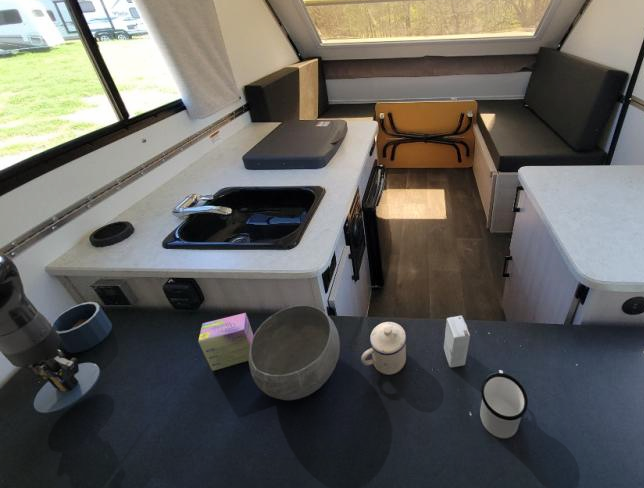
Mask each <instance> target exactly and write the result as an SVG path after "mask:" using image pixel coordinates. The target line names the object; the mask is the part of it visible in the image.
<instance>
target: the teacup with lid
mask: <svg viewBox="0 0 644 488" xmlns="http://www.w3.org/2000/svg"><path fill="white" fill-rule="evenodd" d="M369 344H370V347H371V348H369V349H367V350H365V351H363V353H362V355H361V359H360V360H361V362H362V364H363V365H364V366H372V365H373V366H374V368H375V369H376V371H378V372H379V373H381V374H384V375H394V374H397V373H398V372H400V371H401V370H402V369H403V368H404V367H405V364H406V361H407V350H406V349H407V348H406V346H407V345H406V344H407V333H406V332H405V330H404V328H403V327H402V326H401V325H400V324H399V323H396V322H393V321H385V322H381V323H379V324H377V325H376V326H375V327H374V328H373V329H372V331H371V333H370V336H369ZM370 355H371V356H372V358H371V359H367V358H368V357H369V356H370ZM366 359H367V360H366Z"/></svg>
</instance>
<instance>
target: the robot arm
mask: <svg viewBox="0 0 644 488" xmlns="http://www.w3.org/2000/svg"><path fill="white" fill-rule="evenodd" d="M60 342H61V338H60V336H59V335H58V333H57V332H56V331H55V329H54V328H53V327H52V326H51V323H50V322H49V320H48V319H47V318H46V317H45V315H43V314H42V313H41V312H40V310H38V309H37V308H36V307H35V305H34V304H33V302H32V301H31V300H30V299H29V298H28V297H27V295H26V293H25V289H24V284H23V281H22V278H21V276H20V272H19V269H18V267H17V265H16V264H15V262H14V261H13V259H12V258H10V257H9V256H8V255H6V254H5V253H3V252H1V251H0V353H1V354H2V355H3V356H4V357H5V359H6V360H7V361H9V363H11V365H12V366H14V367H18V368H23V369H25V370H26V371H27V372H29V373H30V374H32V375H33V376H34V377H36V378H40V377H41V378H42V380H44V381H47V382H48V381H49V382H50V383H51V384H52V386H53V387H54V388H55V389H59V388H58V386H57V385H56V384H55V383H54V382H53V381H52V380H51V378H50V377H53V378H55V379H56V380H58V382H59V383H60V384H61V385H62V386H63V387H64V388H65V390H66V391H71V390H72V389H73V388H74V387H75V386H76V385H77V384H78V380H77V379H76V378H75V376H74V375H75V374H77V373H78V372H79V367H78V364H79V359H78V358H77V357H72V358H71V359H67V358H66V357H65V354H64V353H63V351H62V350H60V349H59V346H60V345H61V344H60ZM61 372H62V375H61V376H60V373H61Z"/></svg>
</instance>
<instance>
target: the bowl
mask: <svg viewBox="0 0 644 488" xmlns="http://www.w3.org/2000/svg"><path fill="white" fill-rule="evenodd" d="M253 335H254V337H253V339H252V342H251V345H250V350H249V361H248V365H249V366H248V367H249V370H250V374H251V377H252V379H253V381H254V383H255V384H256V386H257V387H258V388H259V389H260V391H262V392H263V393H264V394H266V395H267V396H268V397H271V398H274V399H277V400H283V401H294V400H300V399H303V398H305V397H308V396H310V395H311V394H314V393H315V392H316V391H318V390H319V389H320V388H321V387H322V386H324V384H325V383H326V382H327V381H328V380H329V379H330V377H331V376H332V375H333V372H334V370H335V368H336V366H337V364H338V361H339V357H340V351H341V350H340V349H341V347H340V346H341V342H340V335H339V331H338V328H337V326H336V324H335V322H334V321H333V320H332V318H331V317H330V316H329V315H328V314H327V313H326V312H325V311H323V310H322V309H320V308H318V307H316V306H313V305H302V304H301V305H294V306H290V307H286V308H284V309H281V310H278V311H277V312H276V313H274V314H272V315H271V316H269V317H268V318H266V319H265V320H264V321H263V322H262V323H261V324H260V326H259V327H258V328H257V329H256V331H255V333H254V334H253Z"/></svg>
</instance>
